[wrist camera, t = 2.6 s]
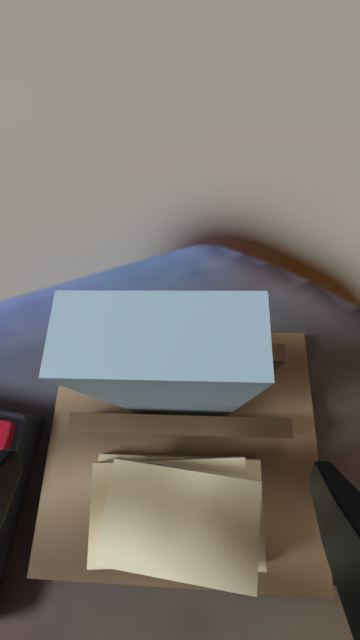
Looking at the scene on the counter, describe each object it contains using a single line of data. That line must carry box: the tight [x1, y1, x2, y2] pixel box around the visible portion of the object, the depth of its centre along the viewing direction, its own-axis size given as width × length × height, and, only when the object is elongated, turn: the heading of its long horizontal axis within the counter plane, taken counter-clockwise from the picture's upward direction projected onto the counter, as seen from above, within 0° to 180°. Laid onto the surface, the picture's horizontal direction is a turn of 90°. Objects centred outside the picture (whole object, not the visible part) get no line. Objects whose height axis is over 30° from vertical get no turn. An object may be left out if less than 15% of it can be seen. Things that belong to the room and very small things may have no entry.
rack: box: [27, 333, 335, 599], centre depth 18 cm, size 14×16×4 cm
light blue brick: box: [39, 291, 275, 414], centre depth 14 cm, size 2×6×12 cm, turn 88°
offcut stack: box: [87, 453, 267, 597], centre depth 16 cm, size 5×9×3 cm, turn 88°
